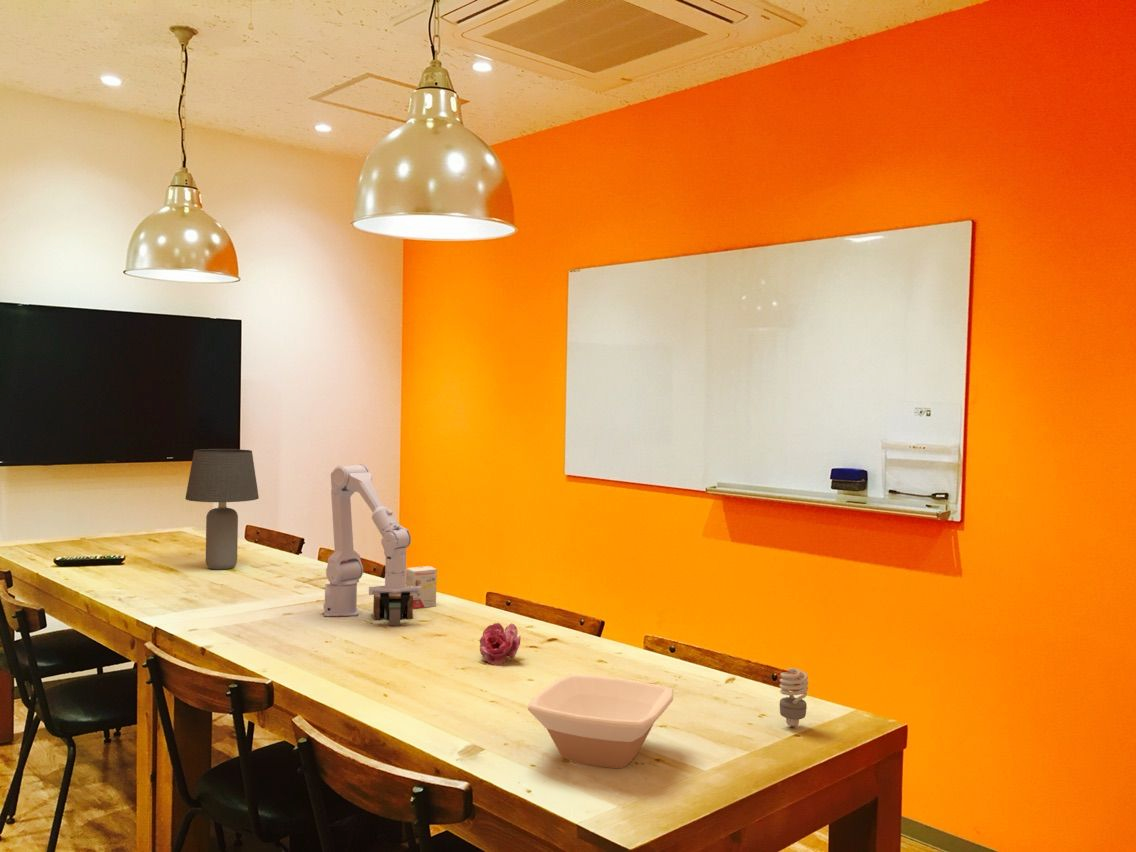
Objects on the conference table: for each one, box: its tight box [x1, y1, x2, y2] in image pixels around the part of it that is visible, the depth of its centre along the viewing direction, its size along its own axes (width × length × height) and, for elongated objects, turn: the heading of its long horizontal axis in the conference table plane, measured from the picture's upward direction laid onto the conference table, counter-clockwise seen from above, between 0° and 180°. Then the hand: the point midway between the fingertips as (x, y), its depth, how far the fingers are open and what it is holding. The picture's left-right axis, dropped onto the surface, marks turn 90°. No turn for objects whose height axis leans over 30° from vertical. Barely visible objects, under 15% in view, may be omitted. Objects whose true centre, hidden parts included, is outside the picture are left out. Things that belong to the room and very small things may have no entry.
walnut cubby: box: [372, 594, 414, 621], centre depth 273 cm, size 11×8×7 cm
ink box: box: [405, 565, 438, 610], centre depth 287 cm, size 9×5×12 cm, turn 126°
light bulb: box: [778, 667, 809, 728], centre depth 188 cm, size 6×6×12 cm
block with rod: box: [383, 599, 401, 627], centre depth 268 cm, size 5×14×4 cm, turn 13°
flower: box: [479, 622, 521, 666], centre depth 231 cm, size 11×10×10 cm
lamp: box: [185, 448, 260, 571], centre depth 339 cm, size 25×25×43 cm
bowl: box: [527, 673, 674, 769], centre depth 172 cm, size 24×25×11 cm
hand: (394, 619), depth 263 cm, fingers closed on block with rod, 3 cm apart
